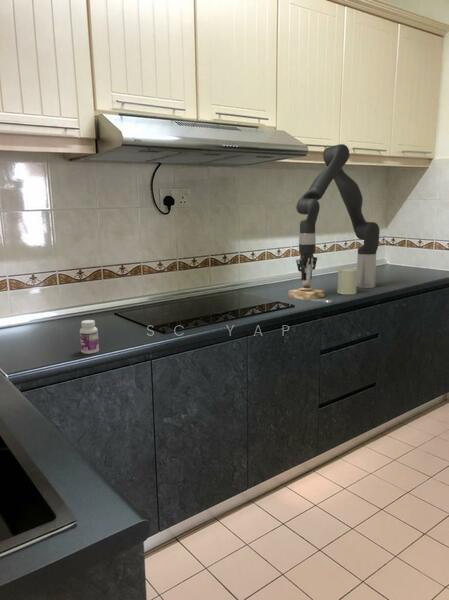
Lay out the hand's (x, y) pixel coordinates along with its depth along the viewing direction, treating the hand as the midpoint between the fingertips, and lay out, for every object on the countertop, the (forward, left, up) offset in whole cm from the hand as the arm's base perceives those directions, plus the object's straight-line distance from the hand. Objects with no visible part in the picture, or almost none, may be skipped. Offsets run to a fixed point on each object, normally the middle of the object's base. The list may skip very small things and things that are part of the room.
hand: (306, 279), depth 226 cm
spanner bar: (+4, +11, -8) cm, 14 cm away
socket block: (0, 0, -8) cm, 8 cm away
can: (-21, +9, -8) cm, 24 cm away
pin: (0, 0, -4) cm, 4 cm away
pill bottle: (+113, -1, -8) cm, 113 cm away
